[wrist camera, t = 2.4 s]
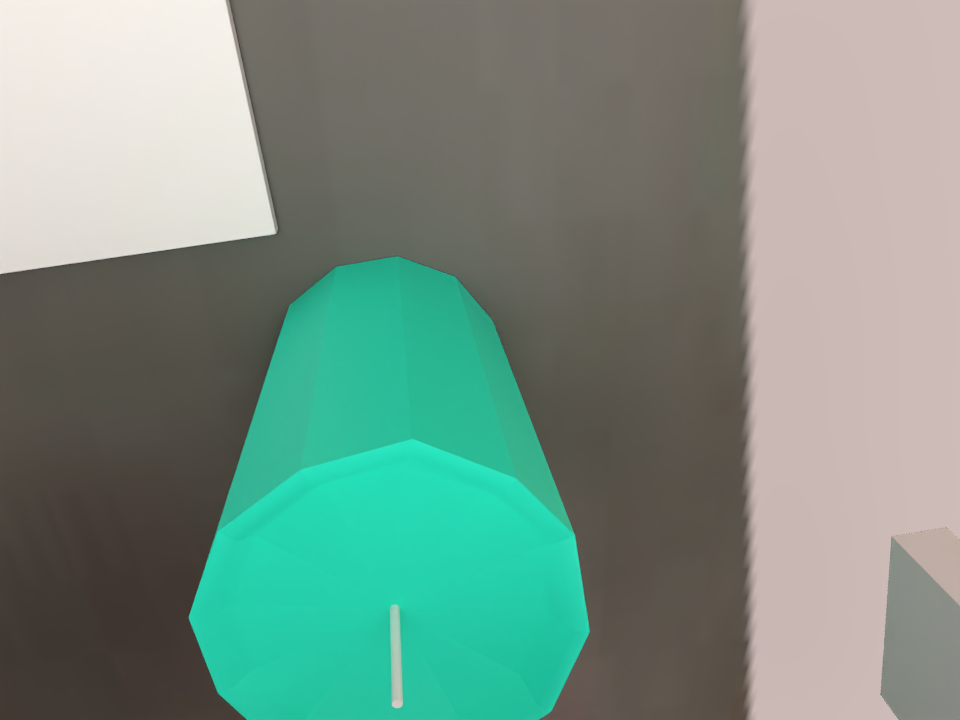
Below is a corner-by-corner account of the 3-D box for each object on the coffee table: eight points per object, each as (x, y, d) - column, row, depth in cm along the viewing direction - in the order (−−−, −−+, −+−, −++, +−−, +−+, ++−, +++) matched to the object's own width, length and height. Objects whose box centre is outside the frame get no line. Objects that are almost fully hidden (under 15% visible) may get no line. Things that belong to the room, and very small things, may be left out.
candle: (487, 473, 24) (580, 863, 13) (267, 462, 23) (164, 870, 12) (515, 266, 22) (656, 518, 11) (275, 245, 21) (158, 495, 10)
